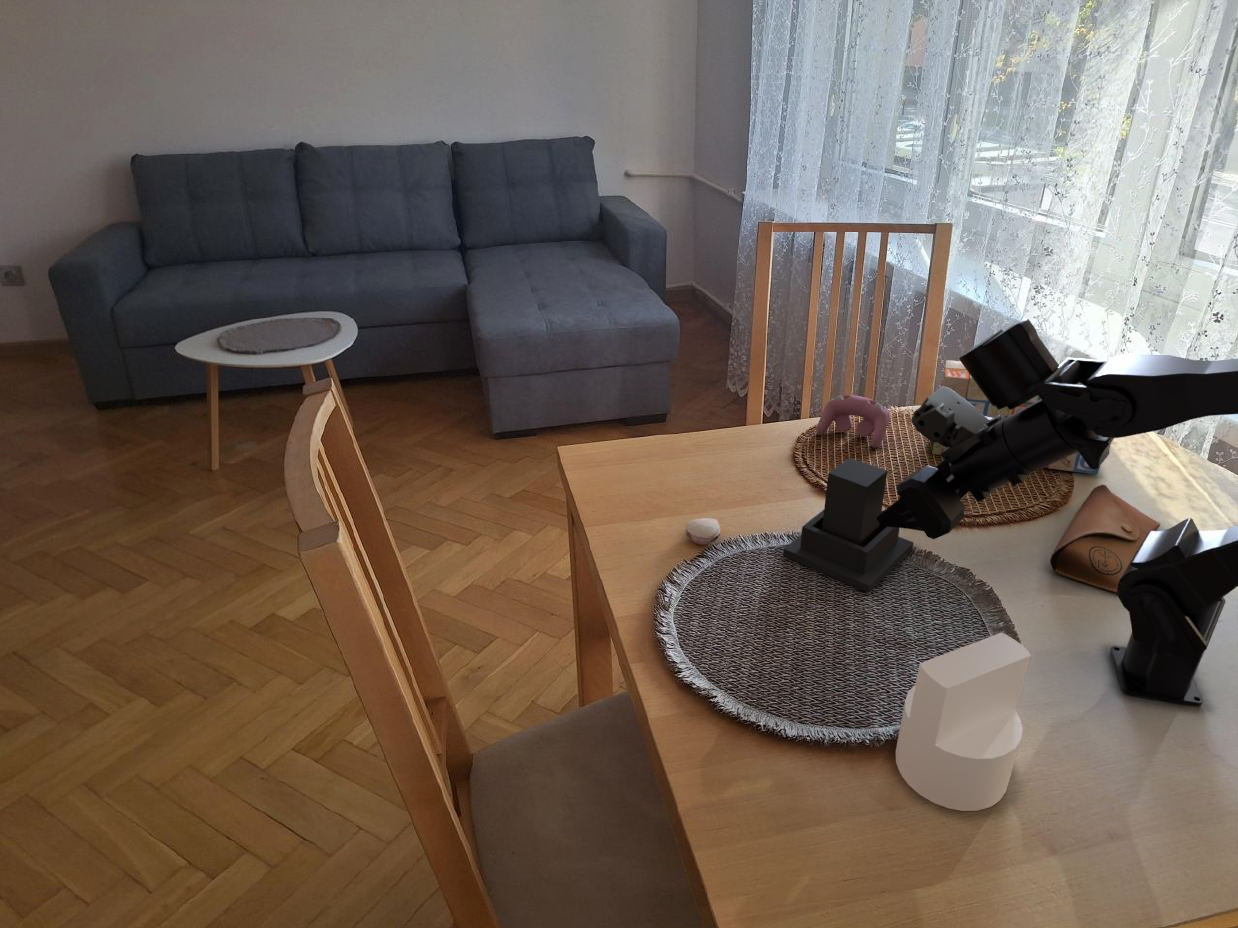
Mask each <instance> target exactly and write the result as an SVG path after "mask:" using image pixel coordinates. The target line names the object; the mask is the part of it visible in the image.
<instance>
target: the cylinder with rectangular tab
mask: <svg viewBox="0 0 1238 928" xmlns="http://www.w3.org/2000/svg"><path fill="white" fill-rule="evenodd" d="M1031 658H1032V654H1031V653H1030V652H1029V650H1028V649H1026V647H1025V646H1023V645H1022V643H1020V642H1019V641H1017V640H1016V639H1014V638H1012V637H1011V636H1010V635H1007V634H1006V633H1004V632H1000V633H996V634H994V635H992V636H988V637H986V638H983V639H981V640H978V641H976V642H973V643H969V644H967V645H965V646H963V647H959V648H957V649H955V650H951V651H949V652H946V653H944V654H941V655H938V656H936V657H933V658H931V659H928V660H925V661H923V662H920V663H919V666H918V672H917V675H916V681H915V684H914V685H913V686H912V687H911V688H910V689H909V690H908V692H907V693H906V698H905V700H904V704H903V709H902V714H901V719H900V726H899V731H898V736H897V742H896V748H895V764H896V767H897V769H898V772H899V774H900V776H901V777H902V778H903V779H904V781H905V783H906V784H907V785H908V786H909V787H910V788H911V789H912V790H913V791H915V792H916V793H917V794H918V795H919V796H920V797H922V798H924V799H926V800H927V801H929V802H931V803H932V804H935V805H937V806H941V807H943V808H946V809H948V810H949V809H950V810H956V811H962V812H974V811H975V812H976V811H981V810H984V809H988V808H991V807H993V806H994V805H995V804H997V803H999V802H1000V801H1001V800H1002V798H1003V797H1004V795H1005V794H1006V792H1007V790H1008V786H1009V783H1010V779H1011V775H1012V772H1013V769H1014V765H1015V762H1016V758H1017V755H1018V751H1019V748H1020V744H1021V742H1022V741H1021V740H1022V735H1023V725H1022V721H1021V718H1020V716H1019V714H1018V713H1017V708H1018V704H1019V701H1020V697H1021V694H1022V690H1023V687H1024V683H1025V680H1026V676H1027V672H1028V669H1029V665H1030V661H1031Z"/></svg>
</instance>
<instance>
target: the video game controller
mask: <svg viewBox="0 0 1238 928" xmlns="http://www.w3.org/2000/svg"><path fill="white" fill-rule="evenodd" d="M851 416H854V417H855V416H856V417H860V418H863V419H862V420H860V421H859V422H858V423H857V424H856V428H855V429H856V430H855V431H856V433H857V434H858V435H859V436H861V437H865V438H866V437H870V436H871V435H872V437H871V445H872V448H874V449H877V448H878V447H880V445H881V444H882V442H883V440H884V437H885V435H886V433H887V429H888V425H889V423H890V421H891V413H890V411H889V409H888V408H887V407H885V406H884V405H882V404H881V403H880V402H878V401H876V400H874V399H871V398H869V397H866V396H861V395H853V394H850V395H847V394H846V395H836V396H835V397H832V398H831V399H830V400H828V402H827V403H826V405H825V406H824V408H823V411H822V413H821V415H820V417H819V420H818V423H817V426H816V427H817V428H816V433H817V435H818V436H823V435H824V434H825V433H826V432H827V431H828V429H829V428H830V426H831V425H832V423H833V422H834V423H835V427H836V429H837V430H838V431H839V432H844V433H846V432H849V431H851V429H852V428H853V420H852V418H851Z"/></svg>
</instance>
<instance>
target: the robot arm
mask: <svg viewBox="0 0 1238 928" xmlns="http://www.w3.org/2000/svg"><path fill="white" fill-rule="evenodd" d="M958 361H961V363H962V364H963V365H964V367H965V368H966V370H967V371H968V372H969V374H970V375H971V377H972V378H973V379H974V381H975V382H976V384H977V385H978V386H979V388H980V389H981V391H982V392H983V393H984V395H985V396H986V398H987V399H988V400H989V402H990V403H991V405H992V406H996V407H997V408H998V410H1000V409H1002V408H1004V407H1006V406H1007V407H1008V409H1009V410H1011V409H1013V408H1016V407H1018V406H1020V405H1021V404H1023V403H1025V402H1027V401H1029V400H1030V399H1032V398H1034V397H1036V396H1037V395H1039V397H1040V398H1041V400H1039V401H1038V402H1036V403H1034V404H1032V405H1030V406H1028V407H1026V408H1024V409H1022V410H1020V411H1019V412H1017V413H1015V414H1013V415H1011V416H1009V417H1007V416H1006V415H1005V416H1003V417H1002V416H1001V415H998V416H996V417H994V418H990V417H986V416H984V415H983V414H981V413H980V411H979V410H978V409H977V408H976V407H975V406H973V405H972V404H971V403H969V402H968V401H967V400H965V399H964V398H963V397H961V396H960V395H959V394H957V393H956V392H955V391H953V390H952V389H950V388H948V387H944V386H943V387H941V386H940V387H939V388H937V389H936V390H935V391H934V392H931V394H929V395H928V396H927V397H926V398H925V399H924V401H923V402H922V403H921V405H920V406H919V408H917V409H915V411H913V416H912V417H911V418H910V422H911V424H912V426H914V428H915V430H916V432H918V433H919V434H921V435H922V436H923V437H924V438H926V439H927V440H928V441H930V442H931V443H932V444H933V443H937V442H938V443H939V444H941V445H943V446H945V447H949V448H947V449H945V450H944V451H943V452H941V453H940V454H941V455H940V456H941V457H942V458H943V460H941V462H939V463H938V464H937V465H935V466H934V467H933V466H931V465H926V464H925V465H924V466H922V467H920V468H918V469H917V470H915V471H914V472H912V473H910V474H909V475H907V476H906V477H905V478H904V479H902V481H900V483H898V484H897V485H896V493H897V495H898V496H899V498H898V499H897V500H895V501H894V502H893V503H891V505H889V506H888V507H887V508H886V509H885V510H883V511H882V512H881V514H880V515H879V516H877V520H878V522H879V523H880V525H881V526H885V527H895V528H900V529H905V530H914V531H919V532H920V531H921V532H924V534H925V536H926V537H927V538H929V539H931V540H936V539H938V538H942V537H943V536H945V535H947V534H950V532H952V531H953V530H954V529H955V528H956V527H957V526H958V525H959V523H961V521H962V520H964V519H965V518H964V517H965V512H966V508H967V507H966V505H965V504H964V503H963V501H962V499H964V498H965V497H966V495H968V494H969V493H970V494H971V496H972V497H973V498H974V500H975V501H976V503H979V502H981V501H984V500H987V498H988V497H989V496H990V495H991V494H992V493H993V492H994V491H995V490H997V489H1000V488H1003V487H1005V486H1006V485H1008V484H1011V486H1012V487H1015V486H1017V485H1020V484H1022V483H1023V482H1024V481H1025V480H1026V479H1027V478H1028V477H1029V476H1030V475H1031V474H1033V473H1035V472H1037V471H1039V470H1042V469H1045V468H1044V467H1046V466H1048V465H1050V464H1053V463H1055V462H1057V461H1059V460H1061V459H1064V458H1066V457H1068V456H1070V455H1072V454H1075V453H1077V452H1079V453H1080V455H1081V456H1082V457H1083V459H1084V460H1085V462H1086V463H1087V464H1088V466H1089V467H1090V468H1091V469H1093V470H1096V469H1098V468H1099V467H1100V468H1101V465H1102V464H1103V463H1104V461H1105V460H1106V459H1108V457H1109V455H1110V451H1111V450H1110V449H1111V445H1112V442H1113V441H1114V440H1115V439H1119V438H1120V439H1121V438H1127V437H1131V436H1136V435H1141V434H1146V433H1147V434H1148V433H1151V432H1156V431H1157V432H1158V431H1161V430H1165V429H1167V428H1170V427H1173V426H1177V425H1179V424H1183V423H1185V422H1188V421H1191V420H1196V419H1201V418H1205V417H1211V416H1212V417H1213V416H1229V415H1238V358H1228V359H1221V360H1220V359H1219V360H1201V359H1199V360H1198V359H1197V360H1196V359H1190V358H1185V357H1180V356H1175V355H1172V354H1171V355H1170V354H1147V353H1124V354H1123V353H1122V354H1120V355H1116V356H1115V355H1114V356H1113V357H1111V358H1109V359H1107V360H1103V359H1091V358H1080V357H1079V358H1077V357H1066V358H1065V359H1064V360H1063V361H1062V362H1061V363H1059V362H1057V360H1056V358H1054V355H1052V353H1051V352H1050V350H1049V349H1048V348H1047V346H1046V345H1045V344H1044V342H1043V341H1042V339H1041V338H1040V336H1039V334H1038V331H1037V329H1036V327H1035V326H1034V324H1033V323H1032V322H1031V321H1030V319H1029V318H1026V317H1025V318H1023V319H1021V320H1020V321H1018V322H1017V323H1014V324H1012V325H1010V326H1008V327H1007V328H1005V329H1003V328H1001V329H1000V330H998V331H996V332H994V333H993V334H991V335H990V336H989V337H987V338H985V339H984V340H982V341H981V342H979V343H978V344H976V345H975V346H973V347H972V348H970V349H968V350H967V351H966V352H964V353H963V354H961V355H960V356H959V357H958ZM1236 588H1238V524H1236V525H1234V526H1231V527H1229V528H1225V529H1221V530H1220V529H1219V530H1199V529H1198V527H1197V524H1196V523H1195V521H1194V519H1193V518H1192V517H1188V518H1185V519H1184V520H1182V521H1180V522H1178V523H1177V524H1175V525H1174V526H1171V527H1170V528H1169V527H1168V528H1166V529H1162V530H1156V531H1150V532H1149V534H1148V535H1147V537H1146V539H1145V540H1144V542H1143V544H1142V545H1141V546H1140V547H1139V548H1138V550H1137V552H1136V553H1135V555H1134V557H1133V558H1132V560H1131V562H1130V563H1129V565H1128V567H1127V569H1126V570H1125V572H1124V574H1123V575H1122V577H1121V579H1120V580H1119V584H1118V587H1117V591H1118V593H1117V597H1118V600H1119V601H1120V603H1121V605H1122V606H1123V607H1124V609H1125V610H1126V611H1127V612H1128V615H1129V620H1130V628H1131V633H1130V636H1129V638H1128V641H1127V644H1126V646H1120V645H1112V646H1111V647H1110V648H1109V652H1110V656H1111V659H1112V662H1113V665H1114V668H1115V671H1116V674H1117V678H1118V681H1119V684H1120V686H1121V691H1122V692H1123V693H1124V694H1126V695H1129V696H1133V697H1141V698H1147V699H1152V700H1158V701H1164V702H1169V703H1177V704H1180V705H1181V704H1182V705H1189V706H1194V707H1202V705H1203V704H1204V699H1203V696H1202V694H1201V691H1200V689H1199V687H1198V685H1197V682H1196V680H1195V676H1196V673H1197V670H1198V669H1199V666H1200V662H1201V661H1202V658H1203V657H1204V656H1203V655H1204V653H1205V652H1206V650H1207V649H1208V646H1209V643H1210V642H1211V638H1212V636H1213V634H1214V631H1215V629H1216V627H1217V624H1218V622H1219V619H1220V617H1221V614H1222V612H1223V609H1224V607H1225V604H1226V598H1225V596H1226V595H1228V594H1229V593H1231V592H1232V591H1233V590H1235V589H1236Z"/></svg>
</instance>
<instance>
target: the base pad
mask: <svg viewBox="0 0 1238 928" xmlns="http://www.w3.org/2000/svg"><path fill="white" fill-rule="evenodd" d="M823 516H824V509H823V510H821V511H820V512H819V513H818V514H816V515H815V516H814V517H813V518H811V519H810V520H809V521H807V522H806V523H805V524H803V525H802V526H801V534H800V535H799V536H798V537H797V538H795V539H794V540H792V541H791V542H790V543H789V544H788V545H786V546H785V547H784V548H783V550H782V551H783V553H782V556H783V557H786V558H788V559H790V560H792V561H794V562H797V563H798V564H800V565H801V564H802V565H804V566H806V567H808V568H811V569H813V570H815V571H818V572H820V573H821V574H824V575H827V576H829V577H831V578H833V579H836V580H838V581H840V582H843V583H845V584H847V585H850V586H851V587H854V588H856V589H858V590H860V591H862V592H865V593H869V592H871V590H873V588H874V587H875V586H877V585H878V584H879V583H880V582H881V581H882V580H883V579H884V578H885V577H886V576H887V575H888V574H889V573H890V572H891V571H892V570H893V569H894V568H895V567H896V566H897V565H898V564H899V563H901V562H902V560H903V559H904V558H905V557H906V556H907V555H908V554H909V553H910V552H911V551H912V550H913V548H914V541H911V540H909V539H907V538H903V537H902V536H899V535H900V529H901V528H895V527H885V526H881V525H880V526H879V532H878V535H877V536H876V537H875V538H874V539H873V540H872V541H870V542H869V543H868V544H867V545H866V546H865V547H864V548H863V547H862V546H859V545H857V544H854V543H852V542H849V541H847V540H844V539H842V538H839V537H837V536H834V535H832V534H829V533H827V532H825V531H822V526H823Z"/></svg>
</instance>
